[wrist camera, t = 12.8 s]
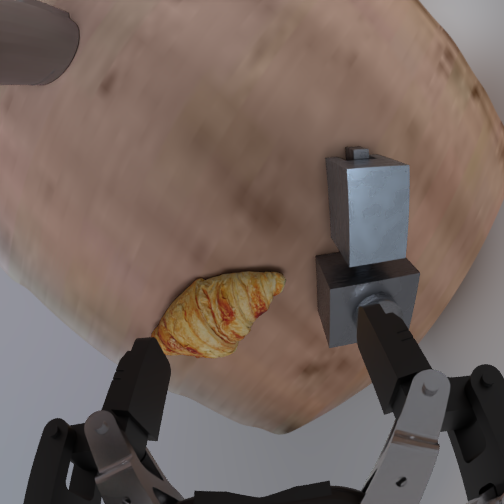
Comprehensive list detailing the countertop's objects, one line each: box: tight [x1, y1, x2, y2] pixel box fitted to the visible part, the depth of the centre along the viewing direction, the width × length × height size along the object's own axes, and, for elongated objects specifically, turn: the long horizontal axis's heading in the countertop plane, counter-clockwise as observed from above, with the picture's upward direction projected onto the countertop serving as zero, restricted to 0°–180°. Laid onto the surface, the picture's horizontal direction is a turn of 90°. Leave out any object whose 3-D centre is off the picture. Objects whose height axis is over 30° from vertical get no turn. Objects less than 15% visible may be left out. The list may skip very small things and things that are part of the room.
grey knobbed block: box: [316, 146, 420, 348], centre depth 27 cm, size 20×10×9 cm, turn 9°
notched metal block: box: [325, 154, 409, 267], centre depth 26 cm, size 9×6×7 cm, turn 9°
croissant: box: [151, 271, 286, 358], centre depth 33 cm, size 21×10×8 cm, turn 125°
